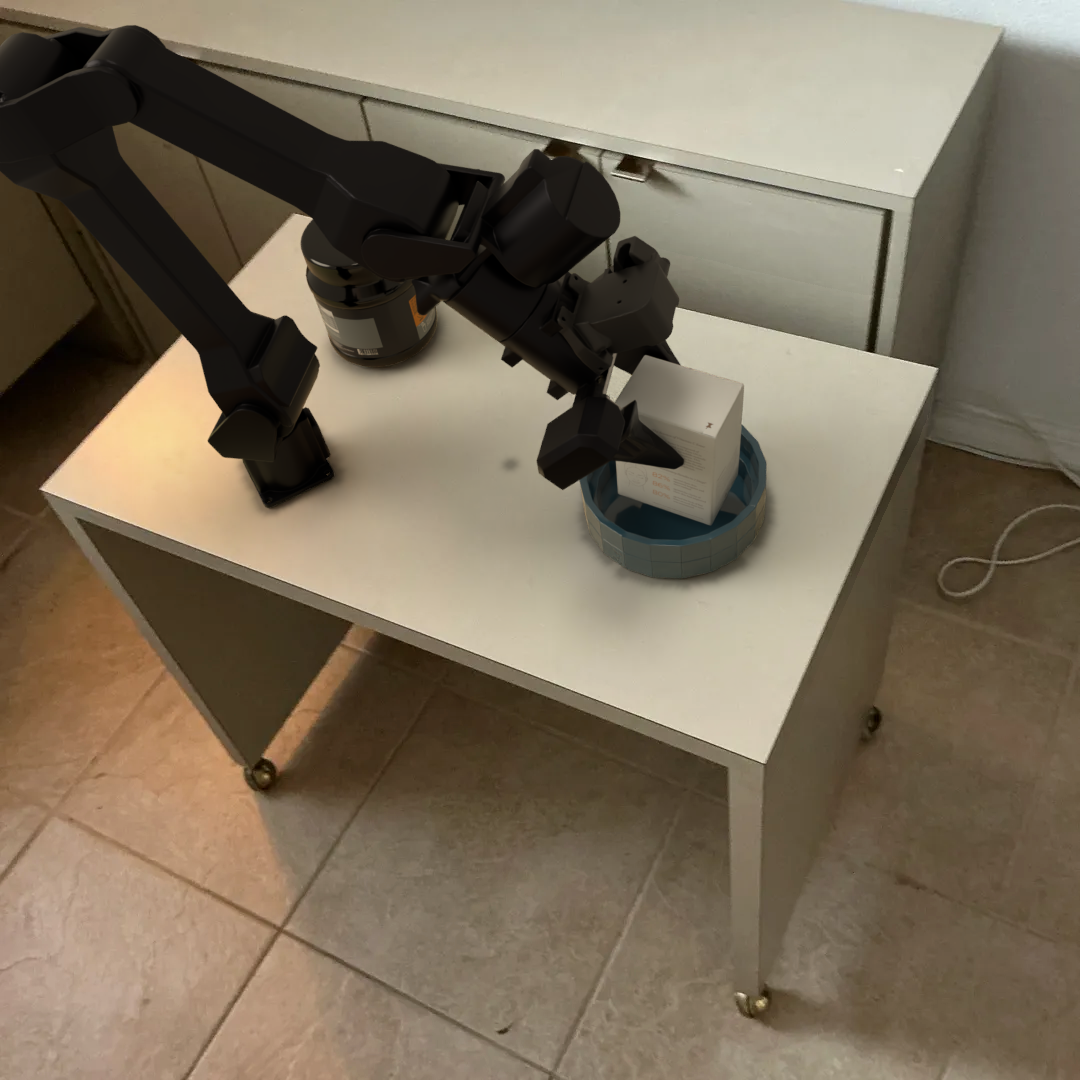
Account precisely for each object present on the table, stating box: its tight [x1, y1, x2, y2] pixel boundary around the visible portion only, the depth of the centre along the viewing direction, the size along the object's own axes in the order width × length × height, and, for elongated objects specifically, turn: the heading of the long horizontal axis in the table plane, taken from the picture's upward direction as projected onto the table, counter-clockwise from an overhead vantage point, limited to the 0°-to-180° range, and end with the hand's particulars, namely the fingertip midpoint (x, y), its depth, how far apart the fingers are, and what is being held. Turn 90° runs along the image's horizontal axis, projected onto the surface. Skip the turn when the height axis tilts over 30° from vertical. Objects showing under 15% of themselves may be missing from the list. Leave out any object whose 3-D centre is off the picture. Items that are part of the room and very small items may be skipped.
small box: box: [614, 355, 745, 526], centre depth 83 cm, size 8×6×10 cm
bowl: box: [578, 424, 768, 579], centre depth 88 cm, size 14×14×4 cm
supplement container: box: [299, 218, 439, 368], centre depth 102 cm, size 10×10×12 cm
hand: (686, 431), depth 82 cm, fingers closed on small box, 6 cm apart
